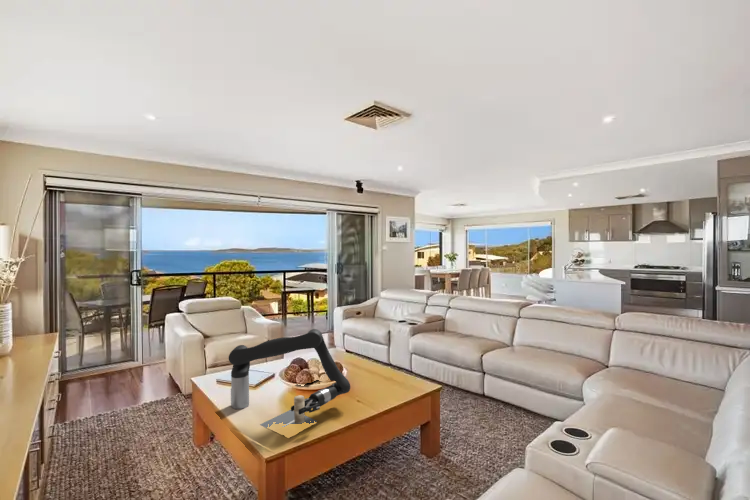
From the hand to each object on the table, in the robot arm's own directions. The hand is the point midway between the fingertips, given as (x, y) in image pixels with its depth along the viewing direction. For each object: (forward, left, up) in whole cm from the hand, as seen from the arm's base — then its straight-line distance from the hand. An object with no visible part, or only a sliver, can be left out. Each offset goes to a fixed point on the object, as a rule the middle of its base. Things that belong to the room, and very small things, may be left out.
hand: (295, 410), depth 182 cm
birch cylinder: (0, +3, -6) cm, 7 cm away
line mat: (-7, +3, -10) cm, 12 cm away
